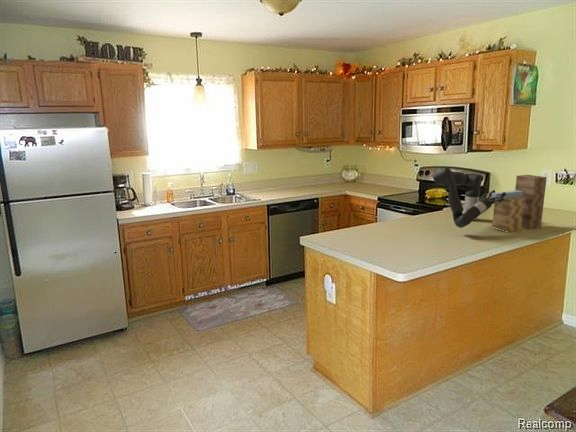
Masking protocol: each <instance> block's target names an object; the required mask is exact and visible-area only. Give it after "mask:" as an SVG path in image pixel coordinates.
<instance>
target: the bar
mask: <svg viewBox="0 0 576 432" xmlns="http://www.w3.org/2000/svg"><path fill="white" fill-rule="evenodd" d="M503 192H505V193H506V196H504V197H503V198H504V199H512V198H521V197H523V191H519V190H517V191H515V190H510V191H509V190H508V191H499V192H496V193H492V197H494V196H500V195H501V194H502V193H503ZM499 198H500V197H499ZM495 199H496V200H497V198H495Z"/></svg>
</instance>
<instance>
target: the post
mask: <svg viewBox="0 0 576 432" xmlns="http://www.w3.org/2000/svg"><path fill="white" fill-rule="evenodd" d="M515 178H516V180H515V189H514V191H517V190H519V191H523V197H521V198H523V199H524V206H523V216H522V225H521V227H523V228H522V229H525V228H526V229H525V230H529V229H531V230H537V229H536V228H538V229H542V221H543V213H544V204H545V203H544V202H545V193H546V187H547V186H546V185H547V176H542V175H541V176H539V175H535V174H534V175H533V174H521V175H516V177H515Z"/></svg>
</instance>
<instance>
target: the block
mask: <svg viewBox="0 0 576 432" xmlns="http://www.w3.org/2000/svg"><path fill="white" fill-rule="evenodd" d="M523 206H524V199H523V198H512V199H504V200H503V201H502V202H500V203H499V204H498V205H496V203H493V213H492V214H493V215H492V225H491V226H492V227H495V228H498V229H501V230H504V231H512V232H517V231H516V230H519V231H522V228H521V225H522V216H523ZM501 230H500V231H501ZM504 231H503V232H504Z"/></svg>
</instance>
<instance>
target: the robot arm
mask: <svg viewBox="0 0 576 432" xmlns="http://www.w3.org/2000/svg"><path fill="white" fill-rule="evenodd" d="M432 180H433V181H434V182H435V184H437V185H438V186H442V185H443V186H444V185H449V190H448V191H449V192H448V198H447V201H448V205H449V208H450V210H451V213H452V219H453V222H454V224H455V226H456V227H457V228H459V229H462V228H464V227H466V226H468V225H470V224H471V223H472V222H473V220H476V221H478V219H479V218H478V217H479V216H480V215H482V214H484V213H485V212H486V211H488V210H489V209H490V208H492V205H494V203H496V205H498V204H499V203H500V202H502V201H503V200H504V198H503V197H504V196H506V193H505V192H506V191H502V192H503V193H502V194H501V195H500V196H494V197H492V193H497V192H496V191H495V189H494V190H492V191H490V192H488V193H486V192H485V193H484V194H482V195H481V196H480V194H481V187H482V180H483V179H482V175H481V174H477V173H476V174H475V173H464V172H461V171H452V170H451V168H450V167H444V168H442V169H440V170H437V171H435V172H434V174H433V176H432ZM457 186H466V187H470V188H472V189H471V190H469V191H466V192H465V195H464V196H465V197H464V205H463V204H462V202H461V199H460V197H459V193H458V189H457ZM499 197H500V198H499ZM495 198H497V200H496V199H495Z"/></svg>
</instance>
